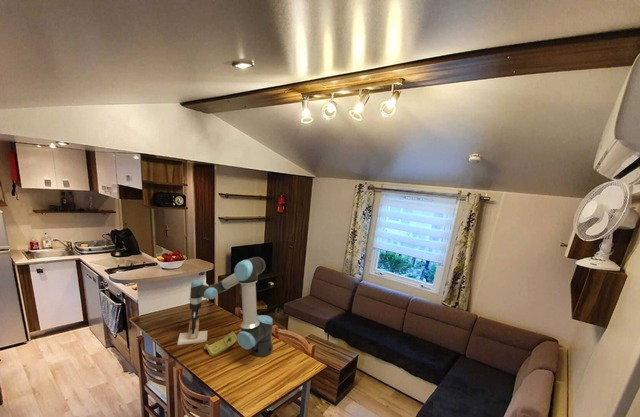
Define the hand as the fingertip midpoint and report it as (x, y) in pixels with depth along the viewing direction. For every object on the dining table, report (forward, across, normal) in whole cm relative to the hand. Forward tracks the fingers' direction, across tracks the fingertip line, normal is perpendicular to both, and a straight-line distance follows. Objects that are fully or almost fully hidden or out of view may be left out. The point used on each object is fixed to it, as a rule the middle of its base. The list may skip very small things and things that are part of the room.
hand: (193, 334), depth 182 cm
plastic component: (+4, +16, +18) cm, 24 cm away
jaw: (+2, 0, 0) cm, 2 cm away
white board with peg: (+3, 0, 0) cm, 3 cm away
